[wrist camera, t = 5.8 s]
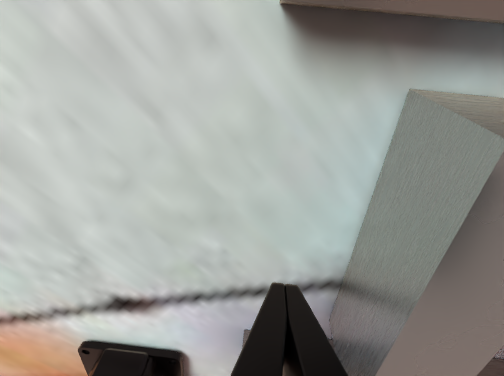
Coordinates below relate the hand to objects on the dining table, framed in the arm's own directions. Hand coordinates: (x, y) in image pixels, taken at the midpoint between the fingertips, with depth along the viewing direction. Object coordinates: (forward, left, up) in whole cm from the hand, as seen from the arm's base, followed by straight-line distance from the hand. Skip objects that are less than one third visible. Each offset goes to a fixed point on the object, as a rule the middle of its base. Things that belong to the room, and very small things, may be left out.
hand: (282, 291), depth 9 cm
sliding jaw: (0, -5, -4) cm, 6 cm away
